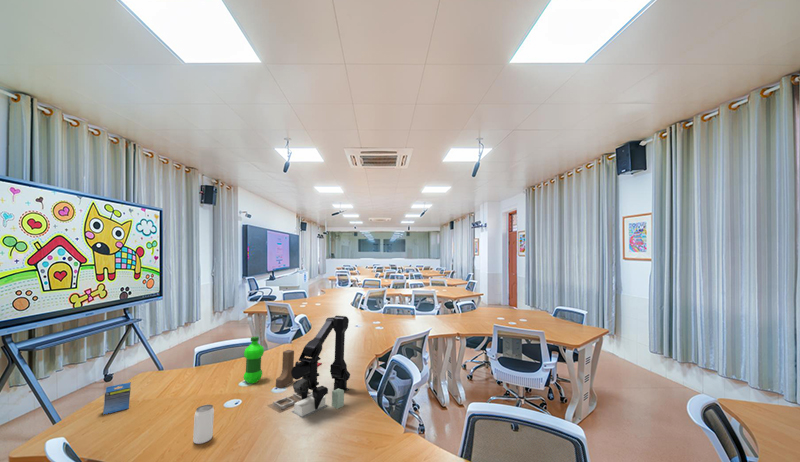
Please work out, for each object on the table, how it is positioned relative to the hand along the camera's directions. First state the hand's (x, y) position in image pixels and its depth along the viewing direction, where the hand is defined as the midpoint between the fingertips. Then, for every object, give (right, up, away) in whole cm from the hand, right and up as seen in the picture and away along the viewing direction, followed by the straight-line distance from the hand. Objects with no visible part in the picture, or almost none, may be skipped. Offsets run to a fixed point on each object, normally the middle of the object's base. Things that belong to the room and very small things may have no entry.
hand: (310, 406), depth 144 cm
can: (-36, 0, -23) cm, 42 cm away
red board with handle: (-21, -7, +50) cm, 55 cm away
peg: (+12, -3, +3) cm, 13 cm away
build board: (-10, -3, +8) cm, 13 cm away
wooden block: (-23, -5, +29) cm, 37 cm away
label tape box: (-90, -2, -1) cm, 90 cm away
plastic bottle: (-43, -5, +33) cm, 54 cm away
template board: (0, -2, 0) cm, 2 cm away
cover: (0, -1, 0) cm, 1 cm away
